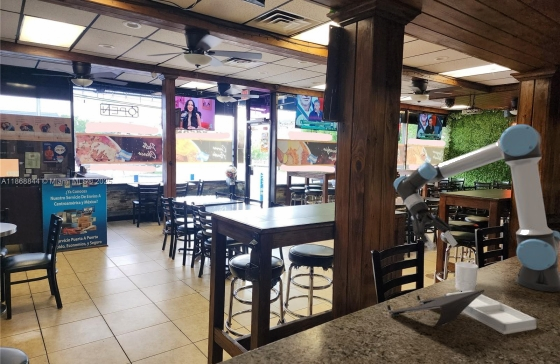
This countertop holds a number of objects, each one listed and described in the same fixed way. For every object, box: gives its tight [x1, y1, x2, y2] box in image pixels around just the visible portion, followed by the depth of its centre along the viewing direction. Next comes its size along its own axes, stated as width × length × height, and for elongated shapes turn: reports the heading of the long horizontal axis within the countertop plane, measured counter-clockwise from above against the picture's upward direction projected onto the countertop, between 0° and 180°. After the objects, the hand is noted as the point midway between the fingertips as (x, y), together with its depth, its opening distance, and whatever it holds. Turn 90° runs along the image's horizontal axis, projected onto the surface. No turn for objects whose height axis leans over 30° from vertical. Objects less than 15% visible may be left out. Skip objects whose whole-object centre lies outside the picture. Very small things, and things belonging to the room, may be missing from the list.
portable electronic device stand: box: [386, 289, 486, 329], centre depth 116 cm, size 23×23×9 cm
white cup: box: [454, 261, 479, 292], centre depth 142 cm, size 8×8×10 cm
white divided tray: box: [443, 290, 538, 335], centre depth 120 cm, size 13×24×3 cm, turn 17°
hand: (443, 247), depth 151 cm, fingers open, 13 cm apart
